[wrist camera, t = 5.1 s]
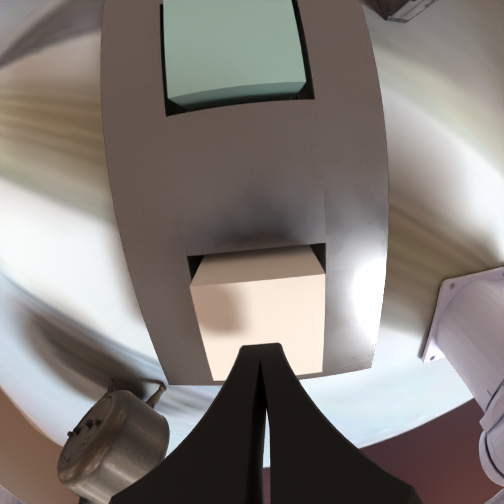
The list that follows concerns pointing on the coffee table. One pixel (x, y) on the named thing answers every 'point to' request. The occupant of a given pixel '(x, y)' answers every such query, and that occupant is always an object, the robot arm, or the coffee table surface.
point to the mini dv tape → (403, 9)
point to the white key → (261, 305)
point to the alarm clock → (113, 446)
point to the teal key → (231, 52)
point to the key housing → (249, 179)
